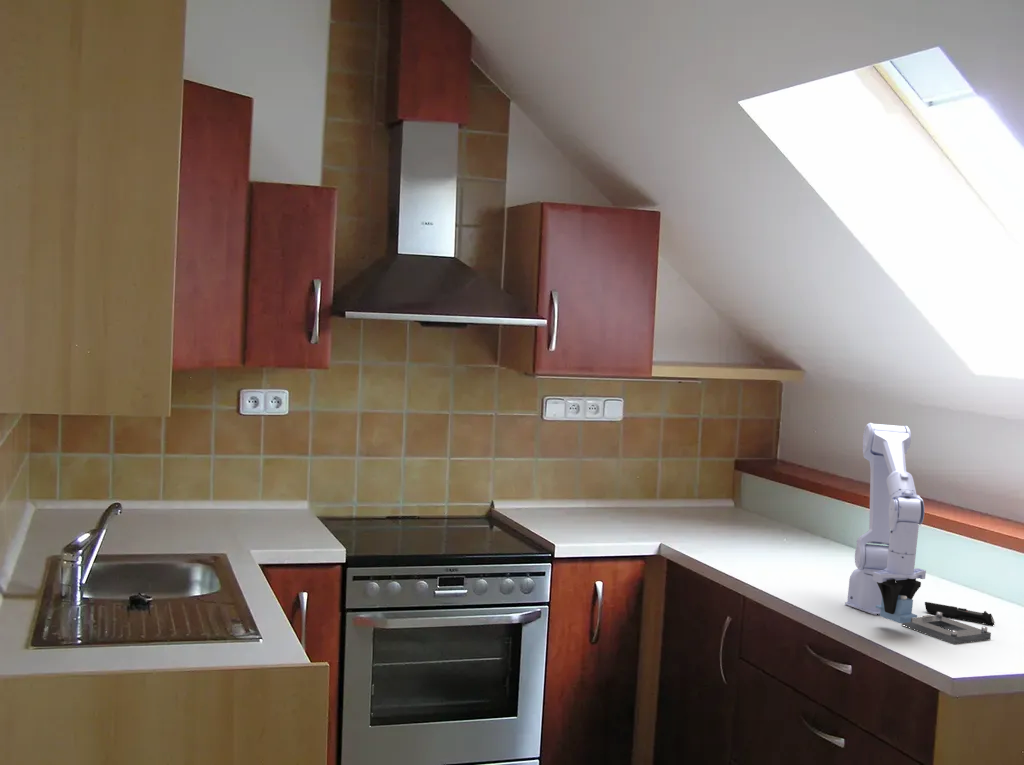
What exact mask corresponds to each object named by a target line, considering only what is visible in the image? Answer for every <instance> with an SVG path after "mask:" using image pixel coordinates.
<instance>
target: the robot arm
mask: <svg viewBox="0 0 1024 765" xmlns="http://www.w3.org/2000/svg"><path fill="white" fill-rule="evenodd" d="M863 429H864V431H863V434H862V435H863V436H862V454H863V456H862V457H863V458H864V459H865V460H867V461H868V462H869V468H870V480H869V481H870V482H869V484H870V485H869V486H870V487H869V520H868V521H869V525H868V526H869V527H868V531H866V532H864V533H863V534H861V535H860V536H859V537H858V538H857V540H856V546H855V552H854V563H855V566H856V568H855V569H854V570H852V572H851V574H850V577H849V578H848V579H849V580H848V588H847V589H848V591H847V598H846V599H847V601H846V602H844V605H845V606H848V607H852V608H854V609H857V610H860V611H862V612H865V613H868V614H872V615H874V616H876V615H877V614H878V615H880V611H881V609H878V608H875V607H876V605H881V602H882V597H883V603H884V609H885V612H887V613H890V614H894V612H895V609H896V604H897V599H898V596H899V595H904V596H907V598H909V599H912V600H913V598H914V597H915V595H916V593H917V591H919V589H920V588H921V586H922V581H919V580H917V579H920V580H925V579H926V573H927V570H926V569H922V568H915V565H916V564H915V563H916V556H917V548H918V547H917V545H918V536H919V527H920V525H922V524H923V522H924V519H925V503H924V502H925V501H924V500H923V498H921V495H919V494H917V489H916V485H915V481H914V477H913V475H912V473H910V472H908V471H907V465H906V462H907V461H906V454H907V453H908V450H909V448H910V447H911V442H912V433H911V431H912V430H911V429H910V428H909V427H908V425H896V424H895V425H893V424H882V423H881V424H880V423H873V422H869V423H867V424H866V425H865V427H864V428H863ZM878 615H877V616H878Z"/></svg>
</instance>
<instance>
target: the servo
mask: <svg viewBox="0 0 1024 765" xmlns="http://www.w3.org/2000/svg"><path fill="white" fill-rule="evenodd" d="M913 603H914V599H913V598H912V599H909V598H907V596H904V595H899V596H898V599H897V604H896V609H895V612H894V614H890V613H887V612H885V609H884V603H883V597H882V602H881V605H876V607H875V608H878V609H881V611H880V614H879V616H880V617H881V618H884V619H887V620H890V621H893V622H895V623H897V624H902V623H907V622H911V618H917V617H918V614H916V613H913Z"/></svg>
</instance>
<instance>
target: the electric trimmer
mask: <svg viewBox="0 0 1024 765" xmlns="http://www.w3.org/2000/svg"><path fill="white" fill-rule="evenodd" d="M924 606H925V610H926V612H927V613H931V614H934V615H937V612H942V617H945V616H946V617H945V618H948V617H950V618H949V619H952V618H959V619H958V620H963V619H964V620H963V621H967V620H969V622H972V621H973V622H974V623H977V622H979V623H978V624H982V623H984V625H987V626H988V625H991V626H990V627H994V626H995V624H994V623H995V620H994V617H993V614H992V613H988V612H987V611H986V610H985V611H983V612H979V611H974V610H968V609H967V608H962V607H958V606H952V605H947V604H946V605H945V604H941V603H935V602H934V603H933V602H929V601H925V602H924ZM993 625H994V626H993Z"/></svg>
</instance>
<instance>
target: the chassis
mask: <svg viewBox="0 0 1024 765" xmlns="http://www.w3.org/2000/svg"><path fill="white" fill-rule="evenodd" d="M902 625H905V626H907V627H910V628H912V629H911V630H913V629H915V630H914V631H916V630H918V631H917V632H919V631H921V632H923V633H922V634H924V633H926V634H925V635H927V634H928V635H927V636H930V635H931V636H930V637H933V638H935V637H936V639H939V640H941V639H942V641H944V640H945V641H944V642H947V643H949V642H950V644H953V645H957V643H959V644H964V642H967V643H973V641H974V642H981V641H980V640H982V641H989V640H988V639H990V640H991V635H992V632H990V631H988V627H986V626H981V628H978V627H975V626H972V625H969V624H966V623H962V622H960V621H957V620H954V619H952V618H948V617H945V616H942V612H937V614H935V615H930V614H927V615H926V614H925V615H922V616H919V617H918V616H917V617H915V618H911V622H907V623H901V626H902ZM905 626H904V627H905ZM907 627H906V628H907ZM941 627H943V628H941ZM910 628H909V629H910ZM944 628H946V629H944ZM947 629H949V630H947ZM950 630H951V631H950ZM921 632H920V633H921ZM971 641H972V642H971Z"/></svg>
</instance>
